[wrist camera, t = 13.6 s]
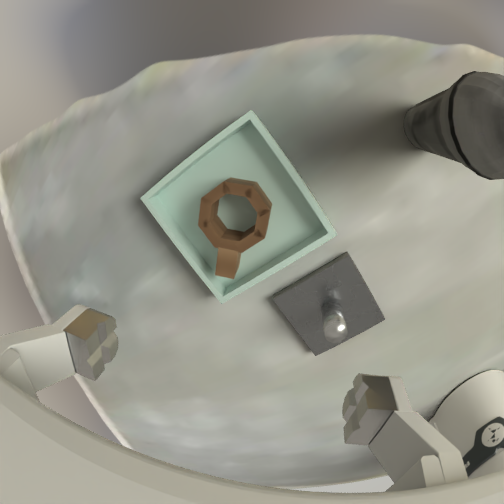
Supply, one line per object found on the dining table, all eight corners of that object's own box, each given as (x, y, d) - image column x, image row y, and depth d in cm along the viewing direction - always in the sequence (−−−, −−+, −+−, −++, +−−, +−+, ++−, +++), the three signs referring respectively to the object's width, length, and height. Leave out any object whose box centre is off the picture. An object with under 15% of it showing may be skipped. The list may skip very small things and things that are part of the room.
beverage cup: (403, 171, 25) (555, 232, 7) (380, 99, 23) (520, 44, 5) (460, 155, 24) (615, 195, 5) (440, 87, 22) (590, 55, 3)
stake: (382, 314, 31) (394, 342, 26) (315, 350, 34) (317, 380, 29) (347, 251, 29) (357, 273, 24) (273, 295, 32) (269, 322, 27)
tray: (333, 227, 28) (337, 235, 26) (226, 292, 32) (221, 304, 30) (254, 112, 25) (251, 109, 23) (151, 193, 29) (140, 198, 27)
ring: (212, 174, 28) (203, 178, 25) (275, 185, 27) (273, 190, 24) (202, 258, 31) (193, 270, 28) (259, 270, 30) (256, 283, 28)
